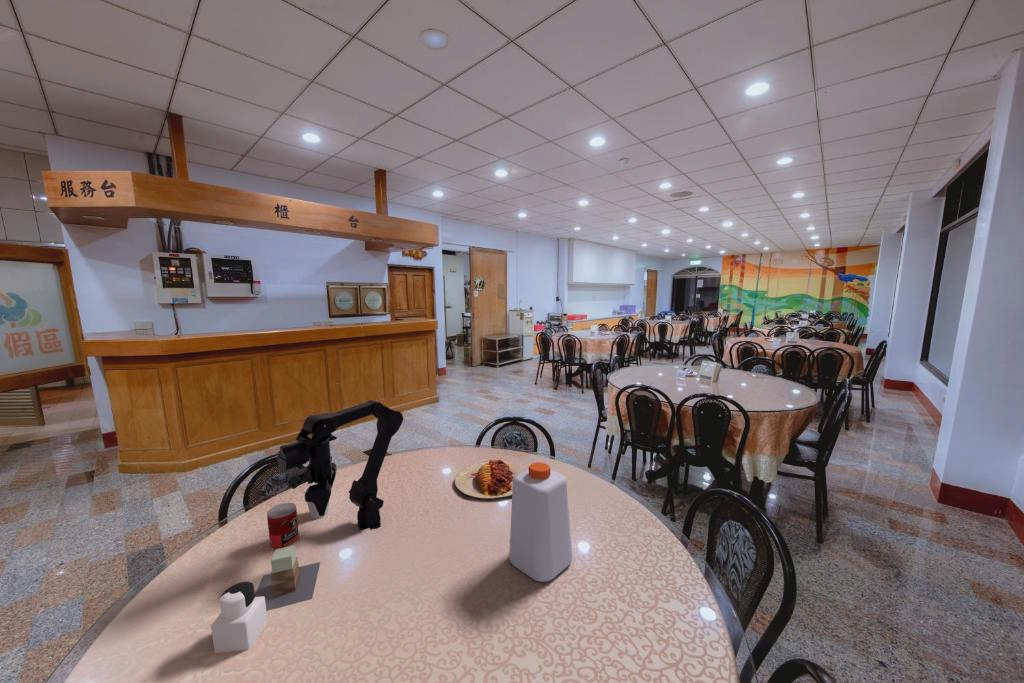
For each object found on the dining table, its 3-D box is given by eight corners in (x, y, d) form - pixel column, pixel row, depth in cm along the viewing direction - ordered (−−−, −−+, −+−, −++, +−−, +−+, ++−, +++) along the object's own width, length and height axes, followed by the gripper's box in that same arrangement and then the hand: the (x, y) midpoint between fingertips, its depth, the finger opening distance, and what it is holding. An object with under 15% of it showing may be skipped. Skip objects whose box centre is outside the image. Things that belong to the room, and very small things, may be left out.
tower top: (298, 566, 99) (297, 556, 98) (294, 580, 94) (293, 569, 94) (276, 571, 97) (275, 561, 97) (271, 585, 92) (270, 574, 92)
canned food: (286, 551, 110) (282, 517, 109) (263, 548, 112) (260, 514, 111) (305, 535, 118) (302, 503, 117) (283, 533, 119) (280, 501, 118)
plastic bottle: (538, 536, 115) (537, 450, 112) (578, 560, 104) (578, 465, 101) (503, 561, 104) (500, 467, 101) (543, 590, 93) (542, 486, 90)
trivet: (320, 563, 105) (320, 561, 105) (312, 600, 92) (312, 598, 92) (263, 577, 100) (263, 575, 100) (246, 618, 87) (245, 616, 87)
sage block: (296, 557, 98) (295, 545, 98) (292, 568, 94) (291, 556, 93) (276, 561, 97) (275, 549, 96) (272, 573, 92) (270, 560, 92)
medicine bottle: (236, 626, 85) (230, 578, 84) (268, 623, 86) (263, 576, 84) (213, 655, 78) (207, 604, 77) (249, 652, 79) (243, 601, 77)
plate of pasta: (543, 499, 135) (542, 481, 135) (449, 504, 136) (447, 486, 135) (538, 464, 166) (537, 449, 166) (461, 468, 167) (460, 453, 166)
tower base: (299, 577, 99) (298, 566, 99) (295, 590, 94) (294, 580, 94) (278, 582, 97) (276, 571, 97) (272, 596, 93) (271, 585, 92)
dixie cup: (337, 508, 133) (335, 481, 132) (323, 521, 125) (321, 494, 124) (316, 507, 134) (313, 481, 133) (300, 520, 126) (298, 493, 125)
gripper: (295, 450, 115) (299, 497, 116) (280, 476, 97) (286, 531, 99) (334, 444, 118) (338, 490, 120) (327, 469, 101) (331, 522, 103)
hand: (324, 507), depth 110 cm, fingers open, 9 cm apart
